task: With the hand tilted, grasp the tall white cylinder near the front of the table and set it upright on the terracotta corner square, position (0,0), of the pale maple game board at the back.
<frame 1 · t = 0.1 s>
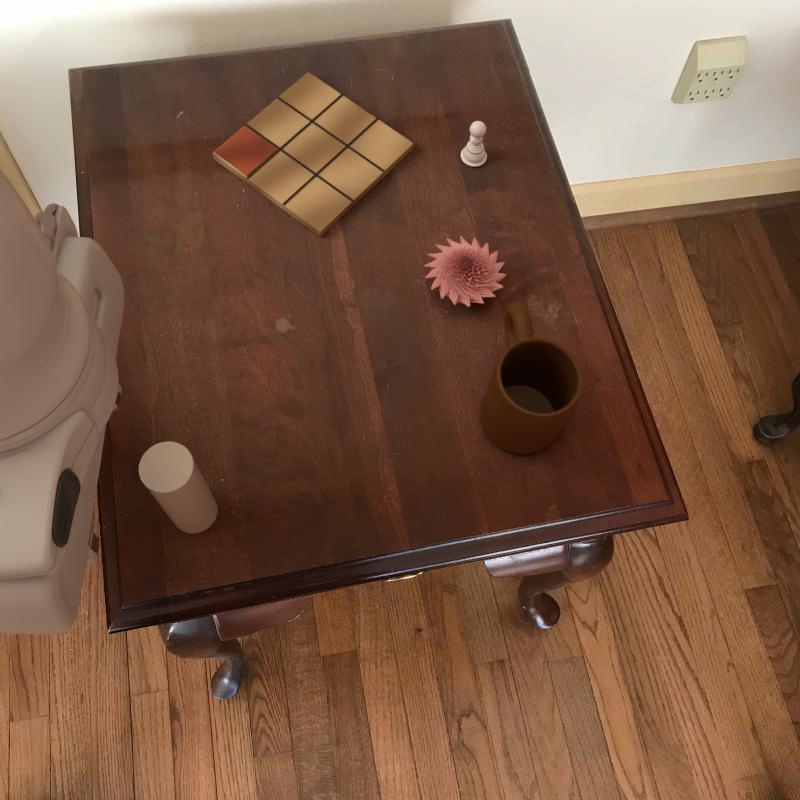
hand: (96, 473, 50), 23 cm above the table, tool pointing down, fingers open, 8 cm apart
mug: (513, 398, 79), on the table
board: (314, 154, 89), on the table
flower: (460, 290, 83), on the table
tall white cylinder: (194, 511, 73), on the table
chess pawn: (473, 158, 90), on the table
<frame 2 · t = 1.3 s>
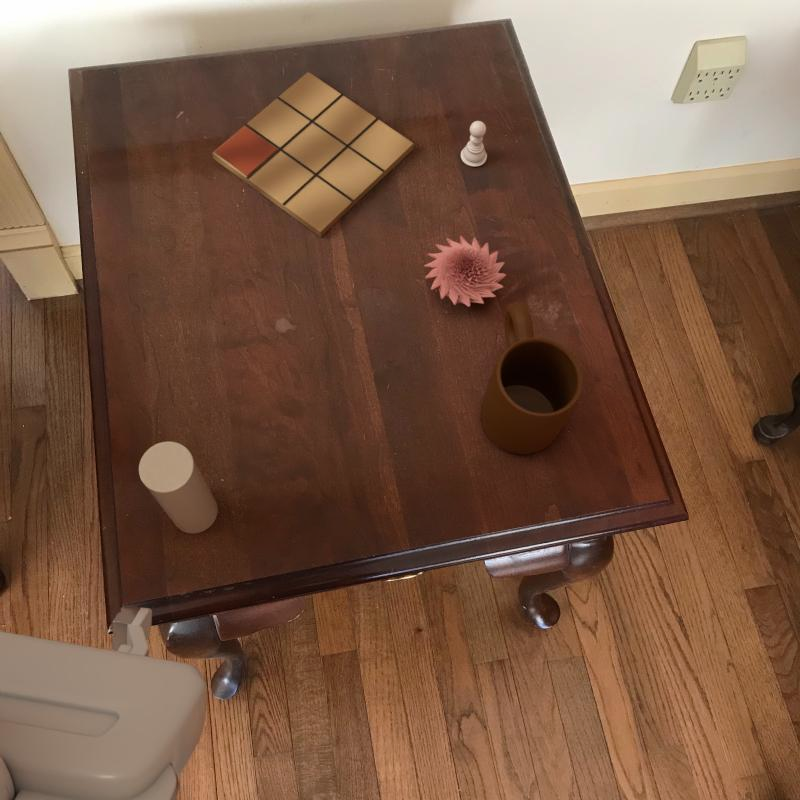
hand: (52, 602, 45), 25 cm above the table, tool tilted 45°, fingers open, 8 cm apart
nothing on the table moved.
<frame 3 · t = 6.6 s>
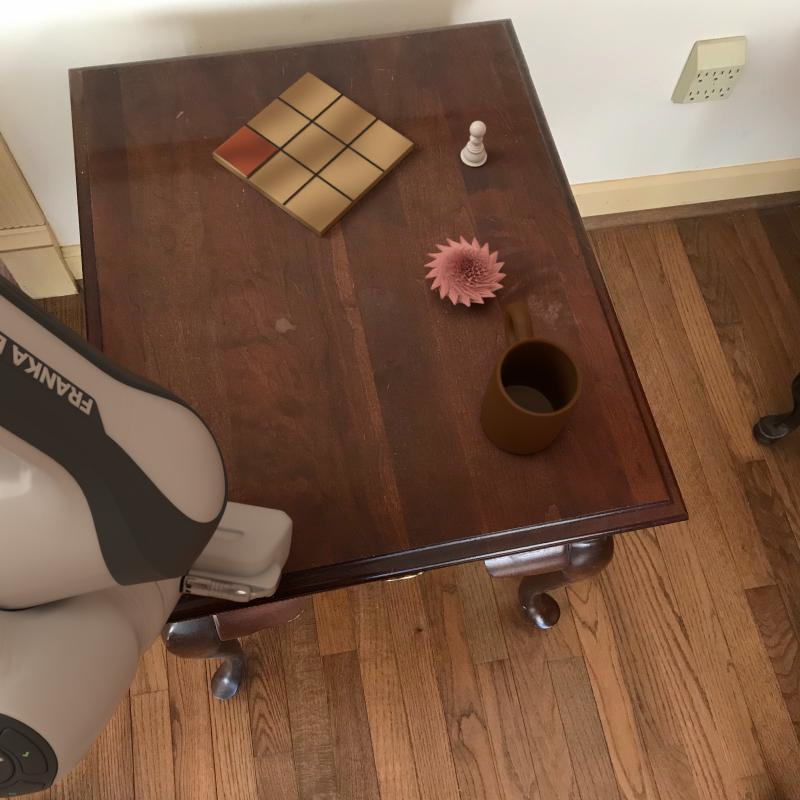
hand: (181, 480, 67), 7 cm above the table, tool tilted 45°, fingers closed on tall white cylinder, 4 cm apart
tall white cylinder: (194, 511, 73), on the table, touching gripper
everything else where it was.
when the fingers open (8 cm above the table, at t = 18.3 s): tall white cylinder stays where it is, resting on board.
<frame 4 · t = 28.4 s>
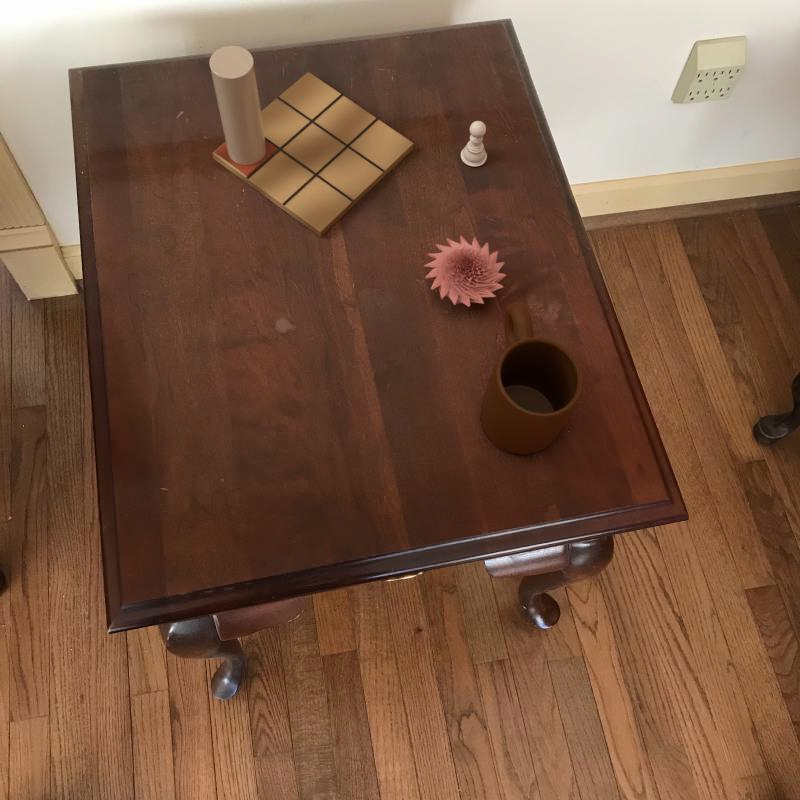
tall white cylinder: (247, 150, 87), point 1 cm above the table, touching board
everything else where it was.
at the end: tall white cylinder 0.1 cm from the target spot on the board, point 1.1 cm above the board's base; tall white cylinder tilted 0°; the gripper is holding nothing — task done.
